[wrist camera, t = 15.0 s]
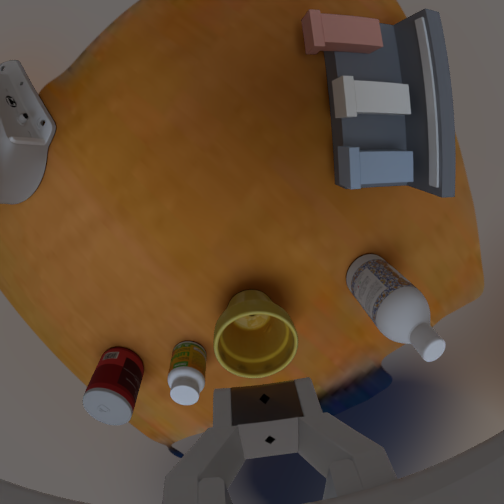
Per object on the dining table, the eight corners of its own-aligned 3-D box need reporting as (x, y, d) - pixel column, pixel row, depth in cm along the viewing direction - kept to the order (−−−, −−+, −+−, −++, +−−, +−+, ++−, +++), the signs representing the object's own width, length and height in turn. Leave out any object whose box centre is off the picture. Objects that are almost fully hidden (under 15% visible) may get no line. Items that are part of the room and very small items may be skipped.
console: (335, 183, 42) (372, 201, 31) (320, 27, 34) (352, -6, 23) (404, 180, 42) (454, 196, 31) (392, 34, 35) (438, 12, 23)
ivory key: (335, 118, 35) (347, 116, 31) (331, 81, 33) (343, 75, 29) (395, 119, 35) (411, 118, 31) (392, 84, 34) (407, 80, 30)
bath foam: (393, 273, 47) (467, 343, 29) (361, 302, 49) (421, 386, 30) (370, 243, 45) (448, 310, 27) (336, 275, 47) (396, 358, 28)
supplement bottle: (190, 334, 48) (185, 375, 39) (213, 356, 50) (212, 398, 41) (166, 350, 49) (156, 392, 40) (188, 371, 51) (184, 413, 41)
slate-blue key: (339, 184, 38) (351, 189, 34) (337, 146, 36) (349, 147, 32) (397, 180, 38) (413, 185, 34) (396, 145, 36) (412, 147, 33)
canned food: (95, 365, 49) (76, 409, 39) (112, 337, 47) (91, 381, 37) (133, 387, 51) (120, 432, 41) (152, 360, 49) (140, 408, 39)
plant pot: (265, 263, 45) (276, 296, 36) (296, 318, 48) (311, 357, 39) (201, 297, 46) (196, 335, 37) (237, 347, 50) (239, 389, 40)
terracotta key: (305, 54, 32) (314, 45, 28) (301, 20, 30) (309, 9, 27) (369, 57, 32) (383, 50, 28) (364, 24, 31) (377, 15, 27)
